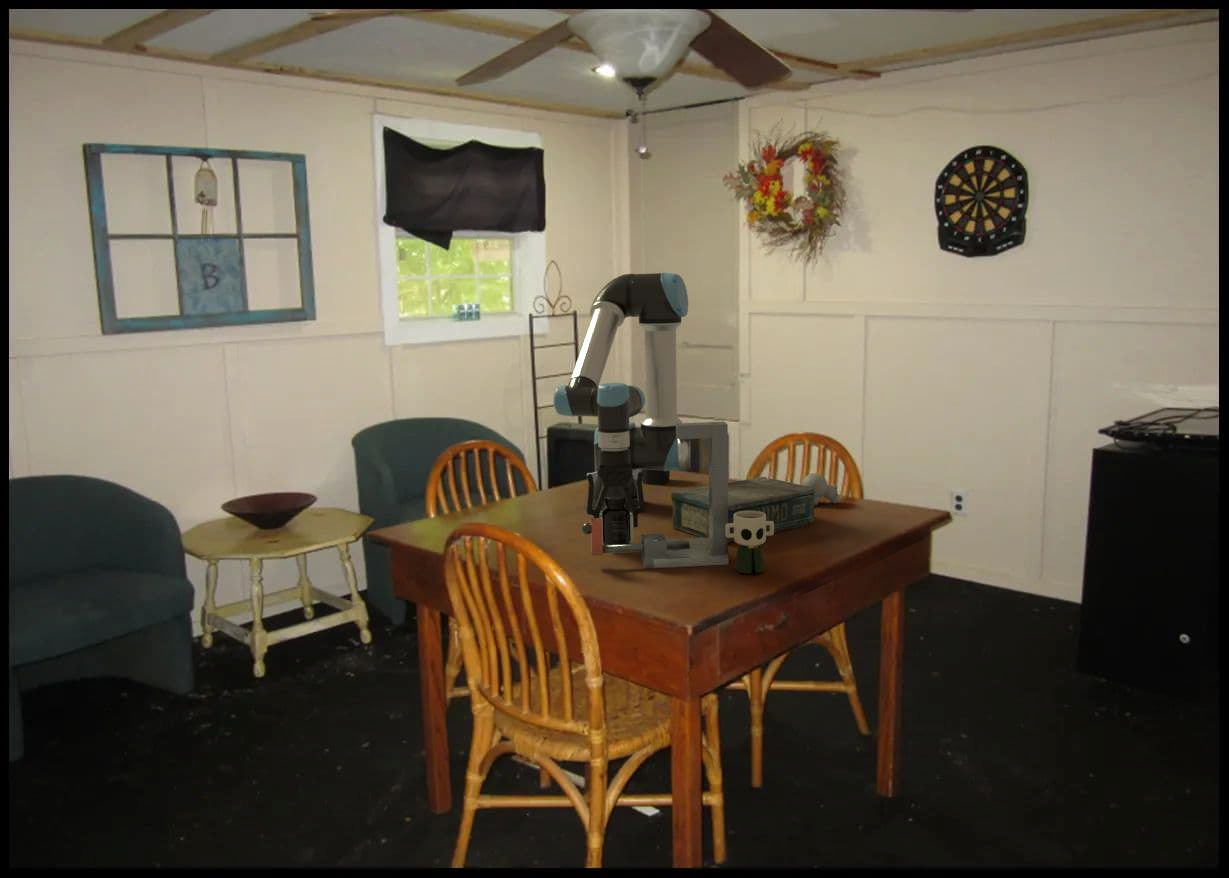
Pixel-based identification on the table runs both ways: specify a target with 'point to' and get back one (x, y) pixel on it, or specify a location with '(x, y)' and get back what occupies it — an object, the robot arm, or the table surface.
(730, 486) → the metal box
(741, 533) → the character mug
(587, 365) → the robot arm
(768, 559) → the table surface
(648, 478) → the pen holder
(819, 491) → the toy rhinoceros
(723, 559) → the press
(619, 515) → the supplement bottle
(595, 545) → the lever
